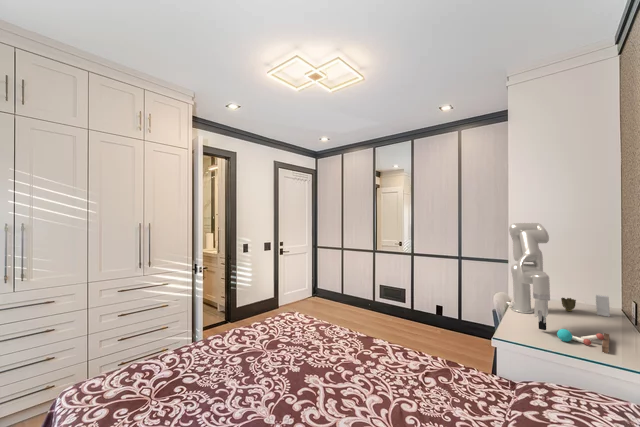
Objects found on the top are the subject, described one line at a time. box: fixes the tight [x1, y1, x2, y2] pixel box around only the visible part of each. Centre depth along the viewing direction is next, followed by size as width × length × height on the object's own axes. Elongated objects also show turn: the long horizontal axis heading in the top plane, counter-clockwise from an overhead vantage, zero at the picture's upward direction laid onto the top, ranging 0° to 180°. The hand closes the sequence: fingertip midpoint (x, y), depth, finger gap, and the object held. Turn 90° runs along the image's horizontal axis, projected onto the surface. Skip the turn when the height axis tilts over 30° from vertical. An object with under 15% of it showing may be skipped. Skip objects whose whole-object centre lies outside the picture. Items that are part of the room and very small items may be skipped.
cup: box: [560, 297, 577, 313], centre depth 190 cm, size 8×7×8 cm
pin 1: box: [571, 335, 592, 346], centre depth 145 cm, size 3×3×9 cm
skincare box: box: [595, 294, 611, 317], centre depth 181 cm, size 6×4×12 cm
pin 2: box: [580, 332, 604, 341], centre depth 144 cm, size 3×3×9 cm
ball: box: [556, 328, 573, 342], centre depth 147 cm, size 6×6×6 cm
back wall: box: [601, 332, 611, 354], centre depth 141 cm, size 2×20×3 cm, turn 133°
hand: (542, 329), depth 159 cm, fingers closed
